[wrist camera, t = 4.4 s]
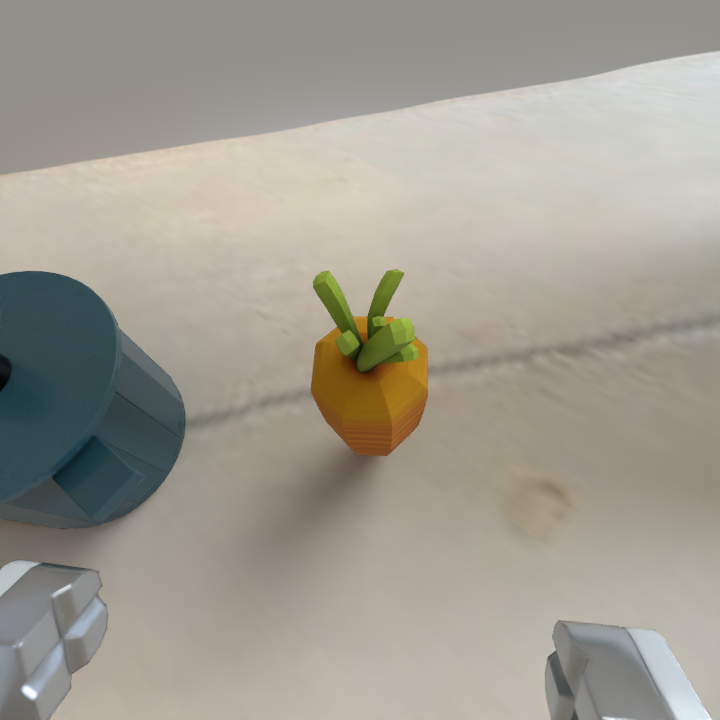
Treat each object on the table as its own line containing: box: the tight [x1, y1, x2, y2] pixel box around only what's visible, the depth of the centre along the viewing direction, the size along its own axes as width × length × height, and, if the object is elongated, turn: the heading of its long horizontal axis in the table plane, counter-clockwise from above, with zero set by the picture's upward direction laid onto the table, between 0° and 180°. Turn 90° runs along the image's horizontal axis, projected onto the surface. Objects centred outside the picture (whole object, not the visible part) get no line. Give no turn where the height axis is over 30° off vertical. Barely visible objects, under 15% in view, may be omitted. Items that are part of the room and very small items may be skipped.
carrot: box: [311, 270, 428, 456], centre depth 21 cm, size 5×5×15 cm
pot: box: [0, 329, 185, 529], centre depth 25 cm, size 11×16×8 cm
